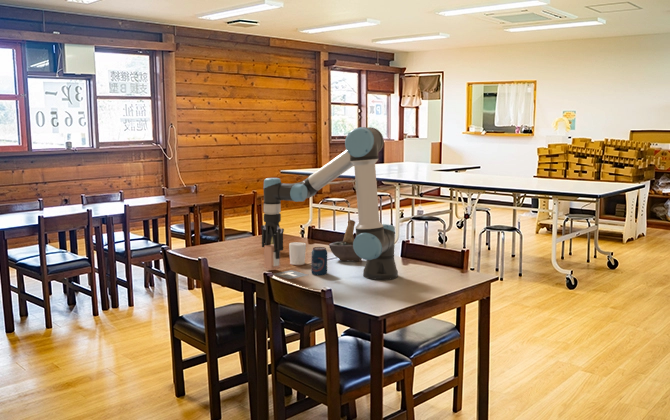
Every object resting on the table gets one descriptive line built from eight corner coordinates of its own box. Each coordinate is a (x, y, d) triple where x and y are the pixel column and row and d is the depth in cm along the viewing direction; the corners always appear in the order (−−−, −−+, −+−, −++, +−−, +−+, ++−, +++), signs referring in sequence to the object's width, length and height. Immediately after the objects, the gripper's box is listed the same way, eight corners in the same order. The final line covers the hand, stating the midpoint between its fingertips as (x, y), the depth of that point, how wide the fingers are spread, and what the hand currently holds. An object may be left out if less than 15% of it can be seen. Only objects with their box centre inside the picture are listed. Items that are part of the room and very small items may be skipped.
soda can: (310, 276, 272) (310, 249, 271) (312, 272, 279) (313, 246, 277) (325, 277, 271) (326, 250, 270) (328, 273, 278) (328, 246, 277)
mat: (309, 276, 273) (309, 274, 272) (289, 280, 265) (289, 279, 265) (291, 271, 281) (291, 270, 281) (272, 275, 274) (272, 273, 274)
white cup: (303, 266, 291) (303, 245, 289) (287, 265, 292) (287, 244, 291) (307, 263, 298) (307, 242, 297) (291, 262, 300) (291, 241, 298)
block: (280, 267, 280) (280, 245, 278) (271, 269, 276) (271, 247, 275) (273, 265, 283) (273, 244, 282) (264, 267, 280) (264, 245, 278)
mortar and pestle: (372, 261, 305) (373, 220, 302) (346, 265, 294) (347, 223, 291) (352, 255, 316) (353, 216, 313) (327, 260, 305) (327, 219, 303)
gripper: (291, 214, 272) (291, 266, 276) (266, 210, 285) (266, 260, 289) (278, 216, 267) (278, 269, 270) (253, 211, 280) (253, 262, 283)
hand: (272, 264), depth 279 cm, fingers closed on block, 5 cm apart
